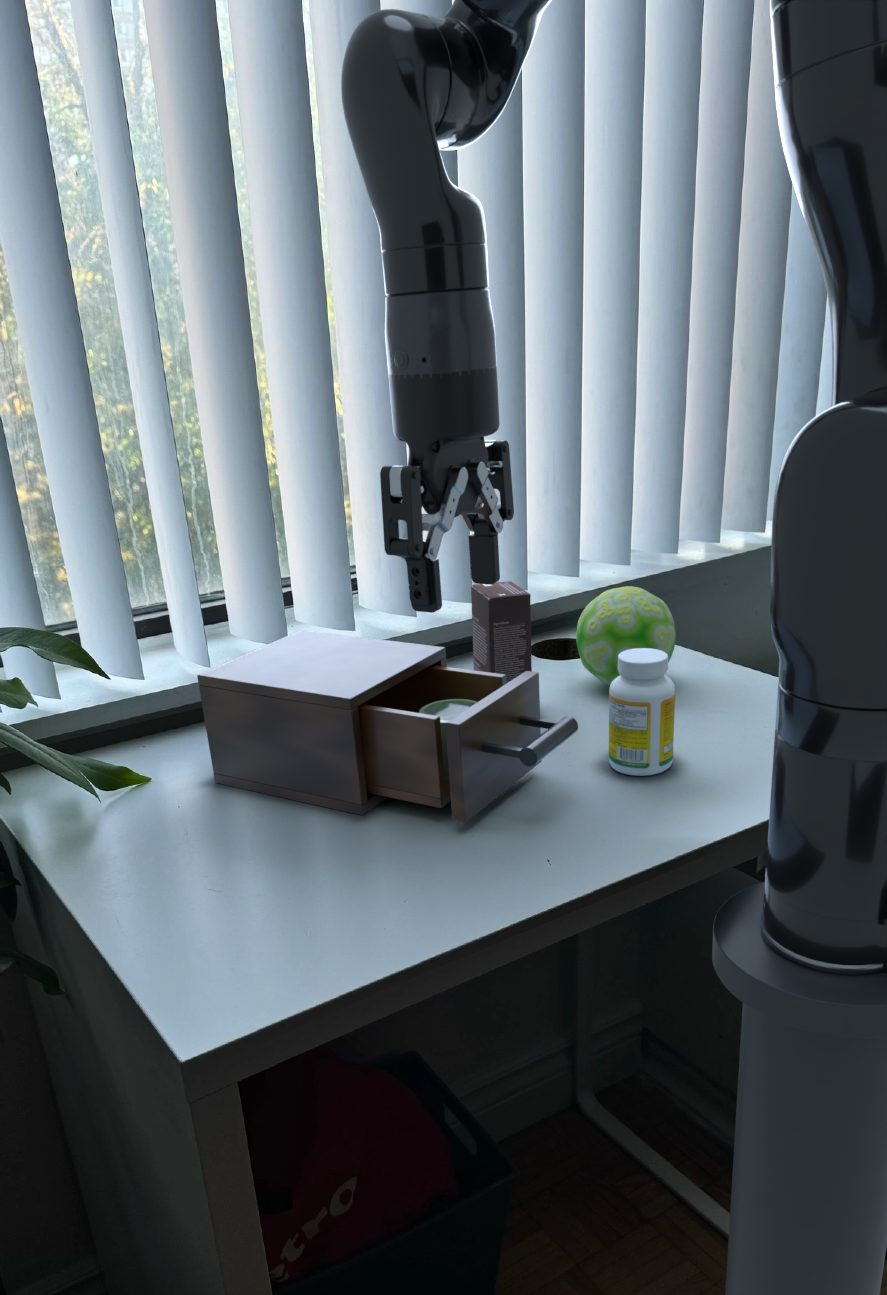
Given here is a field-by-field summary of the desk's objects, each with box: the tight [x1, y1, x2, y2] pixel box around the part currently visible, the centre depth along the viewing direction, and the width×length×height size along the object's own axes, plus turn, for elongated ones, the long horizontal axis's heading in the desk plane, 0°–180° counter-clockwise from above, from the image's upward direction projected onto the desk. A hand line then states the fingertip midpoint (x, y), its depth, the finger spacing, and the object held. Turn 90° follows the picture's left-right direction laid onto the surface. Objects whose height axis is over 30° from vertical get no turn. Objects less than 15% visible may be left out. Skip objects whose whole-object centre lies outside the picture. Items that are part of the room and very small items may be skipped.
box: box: [470, 580, 533, 684], centre depth 102 cm, size 6×4×12 cm
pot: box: [418, 699, 477, 781], centre depth 86 cm, size 5×5×5 cm
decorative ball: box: [575, 585, 677, 686], centre depth 107 cm, size 10×10×10 cm
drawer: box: [357, 665, 579, 823], centre depth 86 cm, size 19×13×8 cm, turn 58°
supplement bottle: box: [608, 648, 676, 777], centre depth 89 cm, size 5×5×10 cm
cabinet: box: [196, 629, 448, 816], centre depth 93 cm, size 16×14×10 cm
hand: (457, 596), depth 81 cm, fingers open, 8 cm apart
